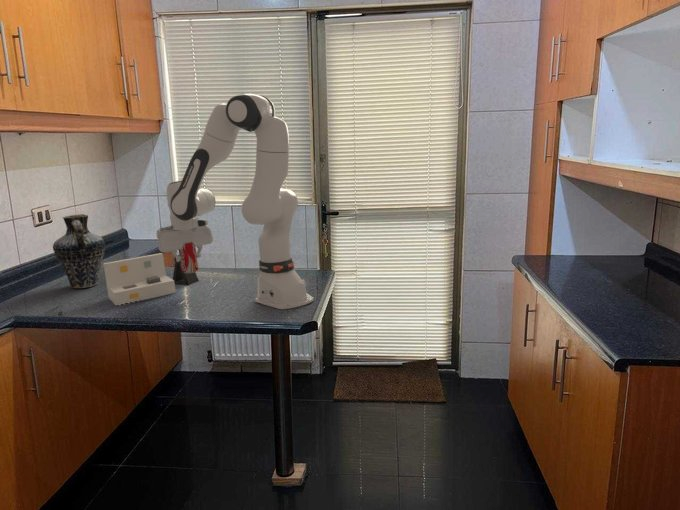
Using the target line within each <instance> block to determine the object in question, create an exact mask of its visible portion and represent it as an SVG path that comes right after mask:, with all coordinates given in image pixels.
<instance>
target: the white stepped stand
mask: <svg viewBox="0 0 680 510" xmlns="http://www.w3.org/2000/svg"><path fill="white" fill-rule="evenodd" d="M164 258H165V257H164V254H163V252H161V253H160V252H159V253H154V254H149V255H143V256H137V257H131V258H126V259H120V260H115V261H109V262H104V263H103V262H102V265H103V271H104V276H105V283H106V290H107V295H108V299H109V300H110V301H111V302H112V303H113V304H114V305H115V306H116V305H119V306H122V305H121V304H123V305H126V304H125V303H128V304H131V303H130V302H132V303H136V302H135V301H137V302H141V301H145V299H146V300H151V299H154V298H159V297H162V296H166V295H172V294H175V293H176V292H177V291H176V284H175V283H174V280H173V278H171V277H170V276H168V275H167V274H166V268H165V267H166V266H165V259H164ZM153 276H158V277H159V278H160V282H157V283H153V284H148V283H147V278H149V277H153ZM132 286H135V287H133V288H129V289H124V288H127V287H132ZM140 300H141V301H140Z"/></svg>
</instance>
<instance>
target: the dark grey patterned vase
mask: <svg viewBox="0 0 680 510" xmlns="http://www.w3.org/2000/svg"><path fill="white" fill-rule="evenodd" d="M62 218H63V221H64V224H65V225H66V231H65V234H64V235H63V236H61V237H60V238H57V239H56V241H54V243H53V244H52V250H53V252H54V255H55V257H56V260H57V261H58V263H59V265H60V266H61V267H62V269H63V271H64V273H65V275H66V277H67V279H68V282H69V285H70V288H72V289H85V288H90V287H93V286H96V285H98V283H99V279H100V277H99V275H100V271H101V267H102V264H103V258H104V256H105V252H106V242H105V240H104V238H103V237H101V236H100V235H97V234H95V233H92V232H90V230H89V228H88V220H89V215H88V214H85V213H84V214H81V213H79V214H71V215H65V216H62Z"/></svg>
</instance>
